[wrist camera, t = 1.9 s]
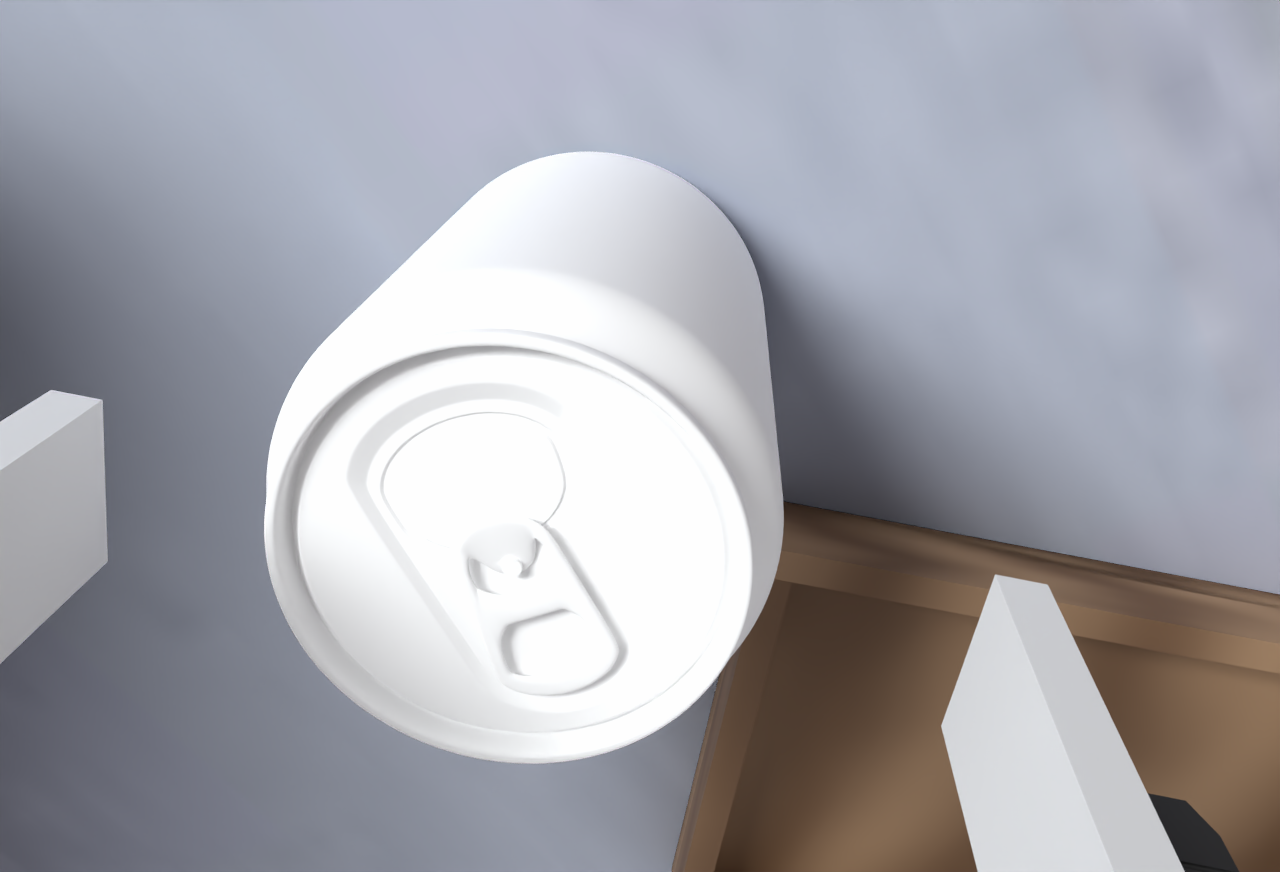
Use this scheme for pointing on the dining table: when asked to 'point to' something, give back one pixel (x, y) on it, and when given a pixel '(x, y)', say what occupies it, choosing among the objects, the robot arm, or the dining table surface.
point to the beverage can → (536, 469)
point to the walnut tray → (923, 686)
